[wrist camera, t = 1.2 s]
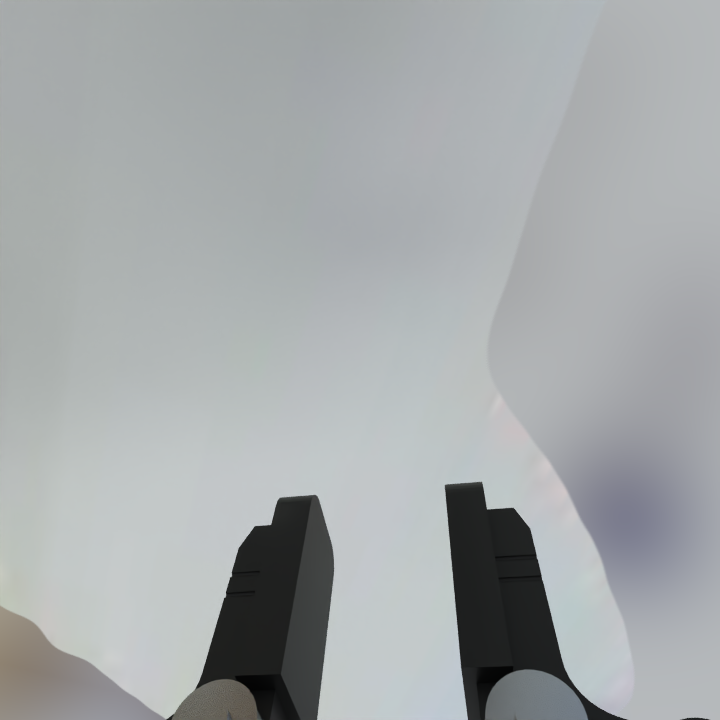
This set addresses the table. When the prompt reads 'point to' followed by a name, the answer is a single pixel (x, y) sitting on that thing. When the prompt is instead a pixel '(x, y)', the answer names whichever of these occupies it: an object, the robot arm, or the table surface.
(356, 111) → the table surface
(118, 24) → the table surface
